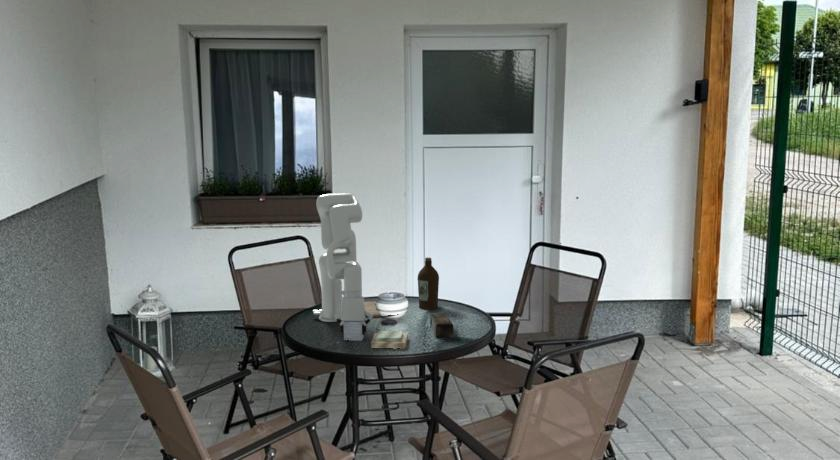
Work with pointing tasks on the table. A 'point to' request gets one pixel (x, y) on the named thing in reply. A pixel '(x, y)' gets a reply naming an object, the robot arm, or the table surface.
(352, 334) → the medicine box
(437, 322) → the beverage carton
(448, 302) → the table surface
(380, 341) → the plinth
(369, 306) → the trivet
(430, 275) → the olive oil
